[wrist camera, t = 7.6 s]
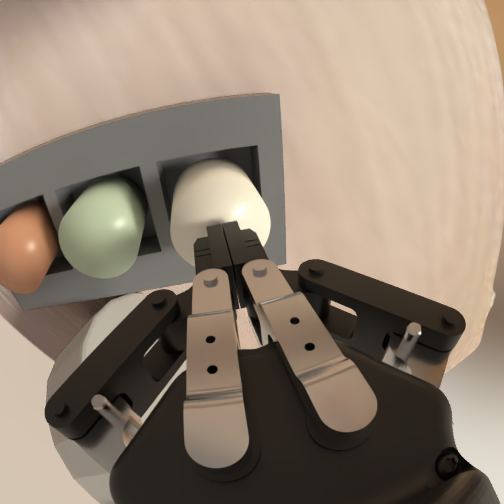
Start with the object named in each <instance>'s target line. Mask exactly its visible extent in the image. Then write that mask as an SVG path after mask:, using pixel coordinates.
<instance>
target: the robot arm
mask: <svg viewBox="0 0 504 504" xmlns="http://www.w3.org/2000/svg"><path fill="white" fill-rule="evenodd" d="M222 228H223V230H222ZM206 229H207V235H208V236H207V237H202V238H197V240H196V241H195V243H194V245H193V247H194V259H195V271H196V276H195V278H194V280H193V286H192V287H191V288H189V289H188V290H186V291H185V292H183V293H180V294H178V295H176V294H175V293H174V292H172V291H170V290H166V289H162V290H157V291H154V292H152V293H150V294H149V295H147V296H146V297H145V298H144V299H143V300H142V301H141V302H140V303H139V304H138V305H137V306H136V307H135V308H134V309H133V310H132V311H131V312H130V313H129V314H128V315H127V316H126V317H125V318H124V319H123V320H122V321H121V322H120V323H119V324H118V326H117V327H116V328H115V329H114V330H113V331H112V332H111V333H110V334H109V335H108V336H107V337H106V338H105V339H104V340H103V341H102V342H101V343H100V344H99V345H98V346H97V347H96V348H95V349H94V351H93V352H92V353H91V354H90V355H89V356H88V357H87V358H86V359H85V360H84V361H83V362H82V363H81V364H80V365H79V367H78V368H77V369H76V370H75V371H74V372H73V373H72V374H71V375H70V376H69V377H68V379H67V380H66V381H65V382H64V383H63V384H62V385H61V386H60V387H59V389H58V390H57V391H56V392H55V393H54V394H53V395H52V396H51V398H50V399H49V400H48V402H47V404H46V406H45V418H46V420H47V422H48V423H49V425H51V426H52V427H53V428H55V429H56V430H57V431H59V432H60V433H61V434H62V435H63V436H64V437H65V438H67V439H68V440H70V441H71V442H73V443H74V444H76V445H77V446H79V447H80V448H82V449H83V450H84V451H85V452H86V453H87V454H88V455H89V456H90V457H91V458H93V459H94V460H95V461H96V462H97V463H98V464H99V465H100V466H102V467H103V468H104V469H105V470H106V471H107V472H109V473H110V477H109V488H110V493H111V497H112V499H113V501H114V503H115V504H500V501H499V499H498V497H497V495H496V493H495V491H494V489H493V486H492V484H491V482H490V480H489V478H488V477H487V476H486V475H485V474H484V473H483V472H481V471H480V470H478V469H477V468H475V467H474V466H472V465H471V464H470V463H469V462H467V461H466V460H465V459H464V458H463V457H462V456H461V455H460V453H459V452H458V450H457V448H456V445H455V441H454V436H453V428H452V411H451V407H450V404H449V401H448V400H447V398H446V396H445V395H444V394H443V392H442V391H441V390H440V389H439V387H440V385H441V381H442V378H443V375H444V372H445V368H446V365H447V361H448V357H449V355H450V353H451V352H452V350H453V349H454V347H455V345H456V344H457V342H458V340H459V339H460V337H461V335H462V334H463V332H464V330H465V327H466V323H465V319H464V317H463V316H462V314H461V313H460V312H458V311H457V310H455V309H453V308H451V307H448V306H446V305H443V304H441V303H438V302H435V301H433V300H430V299H427V298H425V297H422V296H419V295H417V294H414V293H411V292H409V291H406V290H403V289H401V288H398V287H395V286H393V285H390V284H387V283H384V282H382V281H379V280H376V279H374V278H371V277H368V276H365V275H363V274H360V273H357V272H354V271H352V270H349V269H346V268H343V267H341V266H338V265H335V264H332V263H329V262H327V261H324V260H319V259H313V260H308V261H305V262H303V263H302V264H301V265H300V266H299V271H289V270H281V269H278V267H277V265H276V264H275V263H274V262H272V261H270V260H269V259H268V257H267V254H266V252H265V250H264V248H263V246H262V245H261V242H260V240H259V238H258V235H257V233H256V232H254V231H253V230H251V229H250V228H248V229H243V230H240V227H239V225H238V222H237V221H231V222H226V223H222V226H221V224H216V225H210V226H206ZM237 296H238V297H237ZM238 299H239V303H240V307H241V308H245V307H246V308H247V311H248V317H249V322H250V325H251V327H252V330H253V332H254V335H255V337H256V339H257V342H258V344H259V347H260V348H258V349H241V348H240V341H239V334H238V327H237V321H236V320H237V313H236V309H239V303H238ZM331 300H332V301H334V302H337V303H339V304H341V305H344V306H346V307H349V308H351V309H353V310H354V311H355V312H356V314H357V316H355V315H353V314H350V313H348V312H345V311H343V310H341V309H338V308H336V307H333V306H331V305H330V303H331ZM157 339H158V341H157V342H156V343H155V341H156V340H157ZM154 343H155V344H154ZM153 344H154V346H153V347H152V348H151V349H150V350H149V351H148V349H149V348H150V347H151V346H152V345H153ZM147 351H148V353H147V354H146V355H145V353H146V352H147ZM144 355H145V356H144ZM186 359H187V361H186V370H185V371H183V372H182V373H181V374H180V375H178V376H177V378H176V379H175V380H174V381H173V382H172V383H171V385H170V386H169V388H168V389H167V390H166V392H165V393H164V395H163V396H162V398H161V399H160V400H159V402H158V403H157V405H156V406H155V407H154V409H153V410H152V412H151V413H150V414H149V416H148V417H147V419H146V420H145V421H144V423H143V424H142V420H141V418H142V416H143V415H144V414H145V412H146V411H147V410H148V409H149V407H150V406H151V405H152V403H153V402H154V401H155V400H156V398H157V397H158V396H159V394H160V393H161V392H162V390H163V389H164V388H165V387H166V385H167V384H168V383H169V381H170V380H171V379H172V377H173V376H174V375H175V373H176V372H177V371H178V370H179V368H180V367H181V366H182V364H183V363H184V362H185V360H186Z"/></svg>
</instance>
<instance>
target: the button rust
mask: <svg viewBox="0 0 504 504" xmlns="http://www.w3.org/2000/svg"><path fill="white" fill-rule="evenodd" d="M60 248H61V247H60V244H59V237H58V234H57V231H56V229H55V226H54V224H53V221H52V218H51V216H50V213H49V210H48V208H47V205H46V204H44V203H42V202H39V201H35V200H30V201H26V202H23V203H22V204H20V205H19V206H18V207H17V208H16V209H15V210H14V211H13V212H12V213H11V214H10V215H9V216H8V217H7V218H6V219H5V220H4V221H3V222H2V223H1V225H0V283H1V284H2V285H3V286H4V287H6V288H7V289H9V290H11V291H13V292H15V293H19V294H30V293H32V292H34V291H36V290H37V289H38V288H39V286H40V284H41V282H42V280H43V278H44V277H45V275H46V273H47V271H48V269H49V267H50V265H51V264H52V262H53V260H54V258H55V257H56V255H57V253H58V251H59V250H60Z"/></svg>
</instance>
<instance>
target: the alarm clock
mask: <svg viewBox="0 0 504 504" xmlns="http://www.w3.org/2000/svg"><path fill="white" fill-rule="evenodd" d="M146 296H147V295H145V294H143V293H129V294H126V295H123V296H120V297H117V298H114V299H112V300H110V301H109V302H108V303H106V304H105V305H104V306H103V307H102V308H101V309H100V310H99V311H98V312H97V313H96V314H95V315H94V316H93V317H92V318H91V319H90V320H89V321H88V322H87V323H86V324H85V326H84V327H83V328H82V329H81V330H80V331H79V332H78V333H77V335H76V336H75V337H74V338H73V339H72V340H71V341H70V342H69V344H68V345H67V346H66V347H65V348H64V349H63V351H62V352H61V353H60V354H59V355H58V357H57V359H56V361H55V364H54V366H53V369H52V371H51V373H50V376H49V378H48V384H47V396H46V397H47V398H46V404H47V402H48V400H49V399H50V398H51V396H52V395H53V394H54V393H55V392H56V391H57V390H58V389H59V387H60V386H61V385H62V384H63V383H64V382H65V381H66V380H67V379H68V377H69V376H70V375H71V374H72V373H73V372H74V371H75V370H76V369H77V368H78V367H79V365H80V364H81V363H82V362H83V361H84V360H85V359H86V358H87V357H88V356H89V355H90V354H91V353H92V352H93V351H94V349H95V348H96V347H97V346H98V345H99V344H100V343H101V342H102V341H103V340H104V339H105V338H106V337H107V336H108V335H109V334H110V333H111V332H112V331H113V330H114V329H115V328H116V327H117V326H118V324H119V323H120V322H121V321H122V320H123V319H124V318H125V317H126V316H127V315H128V314H129V313H130V312H131V311H132V310H133V309H134V308H135V307H136V306H137V305H138V304H139V303H140V302H141V301H142V300H143V299H144V298H145V297H146ZM157 341H158V339H157V340H156V341H155V343H156V342H157ZM155 343H154V344H155ZM154 344H153V345H152V346H151V347H150V348H149V349H148V351H149V350H150V349H151V348H152V347H153V346H154ZM148 351H147V352H146V353H145V355H146V354H147V353H148ZM145 355H144V356H145ZM186 361H187V359H186V360H185V362H184V363H183V364H182V366H181V367H180V368H179V370H178V371H177V372H176V373H175V375H174V376H173V377H172V379H171V380H170V381H169V383H168V384H167V385H166V387H165V388H164V389H163V390H162V392H161V393H160V394H159V396H158V397H157V398H156V400H155V401H154V402H153V403H152V405H151V406H150V407H149V409H148V410H147V411H146V412H145V414H144V415H143V416H142V418H141V420H142V424H143V423H144V421H145V420H146V419H147V417H148V416H149V414H150V413H151V412H152V410H153V409H154V407H155V406H156V405H157V403H158V402H159V400H160V399H161V398H162V396H163V395H164V393H165V392H166V390H167V389H168V388H169V386H170V385H171V383H172V382H173V381H174V380H175V379H176V378H177V376H178V375H180V374H181V373H182V372H183V371H185V370H186ZM49 427H50V431H51V435H52V439H53V442H54V446H55V448H56V449H57V451H58V453H59V455H60V457H61V458H62V460H63V462H64V463H65V465H66V467H67V469H68V470H69V472H70V473H71V475H72V476H73V478H74V479H75V480H76V481H77V482H78V483H79V484H80V485H81V486H82V487H83V488H84V489H85V490H86V491H87V492H88V493H89V494H90V495H91V496H92V497H93V498H94V499H96V501H98V502H99V503H100V504H115V503H114V501H113V499H112V497H111V493H110V488H109V477H110V473H109V472H107V471H106V470H105V469H104V468H103V467H102V466H100V465H99V464H98V463H97V462H96V461H95V460H94V459H93V458H91V457H90V456H89V455H88V454H87V453H86V452H85V451H84V450H83V449H82V448H80V447H79V446H77V445H76V444H74V443H73V442H71V441H70V440H68V439H67V438H65V437H64V436H63V435H62V434H61V433H60V432H59V431H57V430H56V429H55V428H53V427H52V426H51V425H49Z"/></svg>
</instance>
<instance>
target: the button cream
mask: <svg viewBox="0 0 504 504" xmlns="http://www.w3.org/2000/svg"><path fill="white" fill-rule="evenodd" d="M231 221H237V222H238V225H239V227H240V230H243V229H248V228H250V229H251V230H253V231H254V232H256V233H257V235H258V238H259V240H260V242H261V245H262V246H263V247H264V245H265V244H266V241H267V239H268V236H269V233H270V227H271V221H270V215H269V211H268V208H267V206H266V204H265V203H264V201H263V200H262V198H261V196H260V195H259V193H258V192H257V190H256V188H255V187H254V185H253V184H252V182H251V181H250V179H249V177H248V176H247V174H246V173H245V172H244V170H243V169H242V168H241V167H239V166H238V165H237V164H235V163H233V162H231V161H229V160H226V159H222V158H207V159H203V160H200V161H197V162H195V163H193V164H192V165H190V166H189V167H187V168H186V169H185V170H184V171H183V172H182V174H181V175H180V176H179V178H178V180H177V182H176V184H175V187H174V193H173V202H172V213H171V224H170V234H171V240H172V242H173V245H174V247H175V249H176V251H177V252H178V254H179V255H180V256H181V257H182V258H183V259H184V260H185V261H187V262H188V263H189V264H191V265H193V266H195V259H194V247H193V245H194V243H195V241H196V240H197V238H202V237H207V236H208V235H207V229H206V226H210V225H216V224H221V226H222V223H226V222H231ZM222 230H223V228H222Z"/></svg>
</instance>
